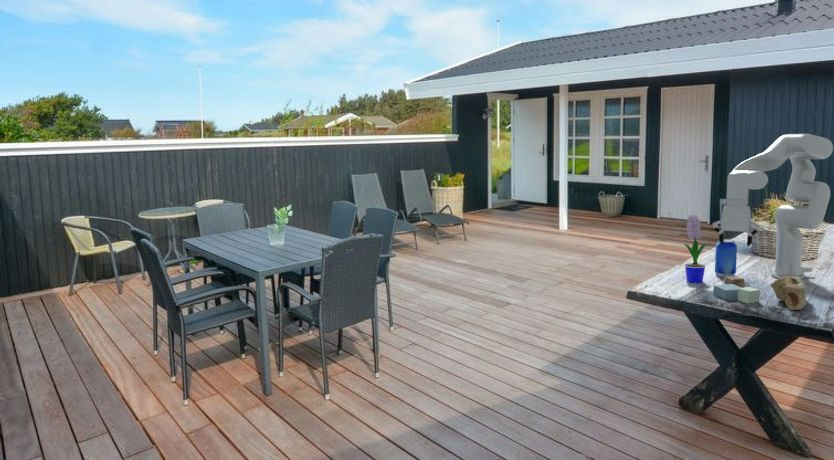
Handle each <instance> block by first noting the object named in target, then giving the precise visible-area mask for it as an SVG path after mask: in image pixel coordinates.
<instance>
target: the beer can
mask: <svg viewBox="0 0 834 460" xmlns="http://www.w3.org/2000/svg"><path fill="white" fill-rule="evenodd" d="M714 253H715V256H714V273H715V274H716V275H717V276H719V277H724V278H725V277H728V276H735V275H736V273H737V260H738V259H737V256H738V255H737V254H738V245H737V243H736V240H735V239H732V238H731V239H730V238H724V243H723V244H720V242H719V239H717V242H716V244H715V252H714Z"/></svg>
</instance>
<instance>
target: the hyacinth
mask: <svg viewBox="0 0 834 460" xmlns="http://www.w3.org/2000/svg"><path fill="white" fill-rule="evenodd" d="M686 219H687V220H686V222H687V223H686V231H687V237H688V238H689V239H690V240H692V241H693V240H694V241H693V243H692V245H691V246H690V245H689V244H687V243H683V245H684V246H685V247H686V248H687V249H688V251H689V253H690V255H691V258H692V260H693V261H692V262H691V263H688V262H687V263H685V264H684V268H685V277H686V282H687V283H692V284H701V283H703V280H704V276H705V269H706V265H705V264H703V263H698V260H699V256H700V254H701V252H702V251H703V250H704V249H705V248H706V247H708V246H709V244H710V243H711V241H708V242H707V243H703V244H701V246H700V247H699V242H698V240H697V239H700V238H702V236H703V232H701V222H702V220H701V219H700V217H699V215H697V214H694V213H692V214H691V215H689V216H687V217H686Z"/></svg>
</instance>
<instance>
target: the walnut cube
mask: <svg viewBox="0 0 834 460" xmlns="http://www.w3.org/2000/svg"><path fill="white" fill-rule="evenodd" d="M725 284H734V285H737V286H739V287H742V288H744V284H745V279H744V278H742V277H740V276H738V275H734V276H728V277H724V285H725Z"/></svg>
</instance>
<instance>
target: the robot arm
mask: <svg viewBox="0 0 834 460" xmlns="http://www.w3.org/2000/svg"><path fill="white" fill-rule="evenodd" d="M833 151H834V144H833V142H832V141H831V140H830V139H829V138H827V137H823V136H820V135H819V136H818V135H815V134H811V133H788V134H783V135H781V136H779V137H778V138H777V139H776V140H775V141H774V142H773V143H772V144H771V145H770V146H769V147H767V149H766V150H764V151H763V152H761V153H759V154H757V155H755V156H752V157H750V158H748V159H746V160H744V161H742V162H740V163H739V164H738V165H736V166H735V167H734V168H733V169H732V170H731V172H729V173H728V175H727V183H726V198H725V199H722V203H723V204H725V205H724V206H723V209H722V212H721V213H722V214H721V219H720V220H718V221H715V222H712V227H713V229H714V231H716V233H718V240H719V242H720V244H723V243H724V239H725V233H724V232H726V231H727V232H739V233H740V232H741V233H743V232H744V233H746V234H747V237H746V239H747V240H746V246H747V247H750V246H751V245H752V244H753V236H754V235H755V234H757V233H758V232H759V230H760V229H761V227H762V226H761V224H759V223H757V222H755V221H753V220H752V219H751V217H752V215H751V214H752V213H751V208H750V206H748V204H749V190H760V189H764V188H765V187H766V186H767V184H768V182H769V177H768V175H767V174H766V173H765V172H768V171H769V172H770V171H772V170H773V171H774V170H776V169H779V168H780V167H781V166H782V165H783V164H785V162H786V161H787V160H788V159H789V160H790V164H791V167H792V169H791V171H792V172H791V175H790V178H789V181H788V183H787V184H788V185H787V188H786V192H785V197H786V200H787V201H788V202H790V203H796V204H797V205H796V204H784V205H780V206H779V207H778V208H777V209H776V210H775V212H774V220H775V226H776V240H775V241H776V245H775V262H774V264H775V265H774V271H773V270H772V271H771V272H770V276H771V277H773V278H774V279H775V278H776V279H778V278H780V277H789V276H793V277H794V276H795V277H799V278H800V279H801V280H803V279H805V278H806V275H805V273H812V272H813V268H812V267H811V266H810V267H805V266H802V258H803V242H804V241H803V240H804V239H803V234H802V232H801V230H800V229H805V230H806V229H807V230H817V229H818V228H819V227H821V225H822V223H823V221H824V219H825V215H826V213H827V208H828V206H829V205H828V204H829V202H830V199H831V189H830V186H829V185H828V183H826V182H823V181H815V178H816V173H817V172H816V167H815V166H814V163H813V162H812V161H811V160H825V159H827V158H829V157H830V156H831V155H832V153H833ZM798 204H799V205H798ZM801 204H805V205H801ZM807 204H808V205H807ZM718 225H720V227H719V226H718ZM752 226H753V227H755V228H754V229H753V230H751V227H752Z"/></svg>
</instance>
